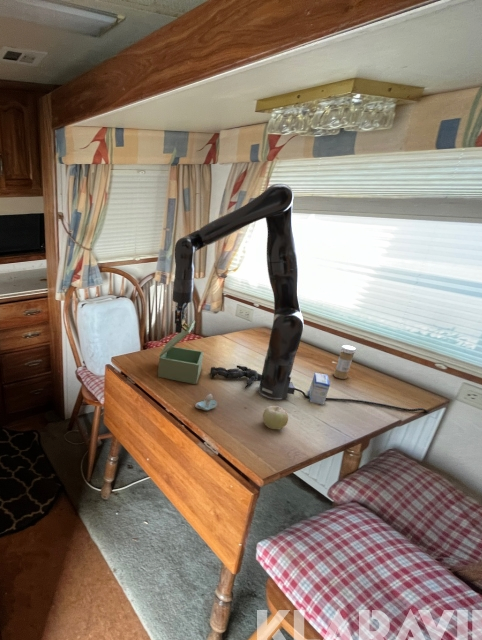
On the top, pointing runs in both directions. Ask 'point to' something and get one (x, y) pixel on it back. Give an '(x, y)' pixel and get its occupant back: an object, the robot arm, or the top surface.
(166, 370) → the chest
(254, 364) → the top surface
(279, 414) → the fruit
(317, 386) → the medicine box
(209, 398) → the pacifier
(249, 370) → the robot figurine
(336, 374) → the sprinkles bottle
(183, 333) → the lid
